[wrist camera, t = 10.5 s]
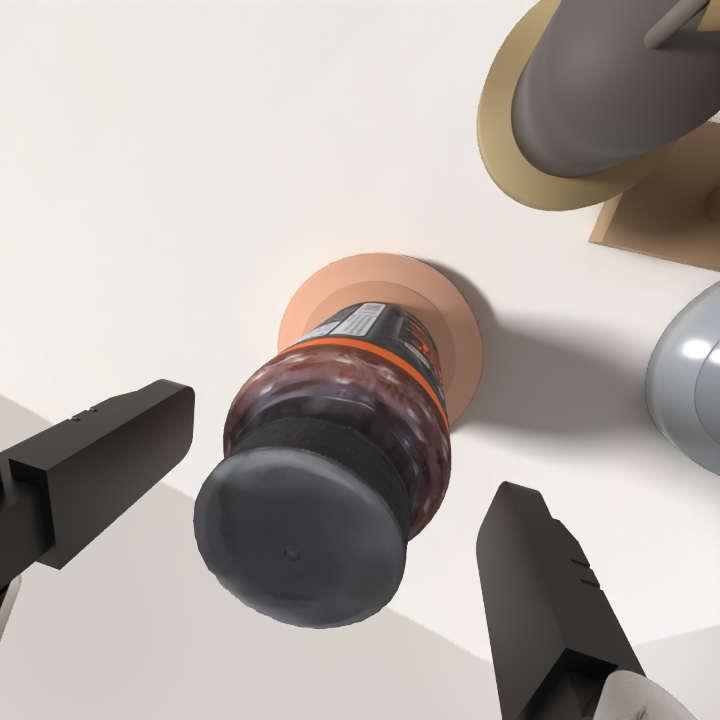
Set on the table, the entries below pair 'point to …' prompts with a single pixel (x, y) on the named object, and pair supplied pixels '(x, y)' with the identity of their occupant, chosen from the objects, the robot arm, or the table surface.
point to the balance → (613, 120)
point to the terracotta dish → (404, 289)
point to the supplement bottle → (329, 470)
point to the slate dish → (689, 380)
